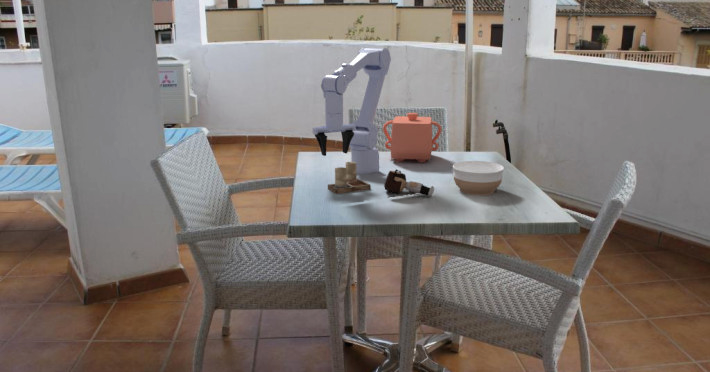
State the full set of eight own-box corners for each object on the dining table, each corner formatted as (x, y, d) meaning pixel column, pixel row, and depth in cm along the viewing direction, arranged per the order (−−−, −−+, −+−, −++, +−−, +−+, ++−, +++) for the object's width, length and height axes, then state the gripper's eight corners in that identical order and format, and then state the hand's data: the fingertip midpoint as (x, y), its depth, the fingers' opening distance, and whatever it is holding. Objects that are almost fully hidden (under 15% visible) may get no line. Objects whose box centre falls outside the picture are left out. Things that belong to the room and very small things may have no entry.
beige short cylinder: (353, 180, 201) (353, 161, 200) (359, 182, 198) (359, 163, 196) (343, 181, 200) (342, 162, 198) (348, 184, 196) (348, 164, 194)
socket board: (361, 186, 196) (361, 180, 196) (370, 191, 191) (370, 184, 190) (327, 191, 191) (327, 184, 191) (336, 196, 186) (336, 189, 185)
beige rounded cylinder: (342, 186, 192) (342, 166, 191) (349, 189, 189) (349, 169, 187) (332, 188, 190) (331, 168, 188) (339, 191, 187) (339, 170, 185)
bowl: (472, 200, 182) (473, 175, 180) (441, 187, 196) (442, 163, 193) (513, 193, 189) (515, 169, 187) (480, 181, 203) (482, 158, 201)
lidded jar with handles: (386, 149, 253) (386, 106, 248) (440, 150, 250) (442, 107, 245) (380, 162, 229) (380, 116, 224) (440, 164, 226) (442, 117, 221)
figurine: (436, 179, 181) (388, 165, 184) (428, 205, 180) (380, 190, 182) (435, 186, 190) (390, 173, 192) (427, 210, 188) (382, 196, 191)
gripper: (349, 109, 201) (349, 149, 204) (308, 112, 195) (309, 153, 198) (358, 112, 195) (358, 153, 198) (317, 115, 189) (317, 158, 192)
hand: (334, 154), depth 198 cm, fingers open, 7 cm apart
